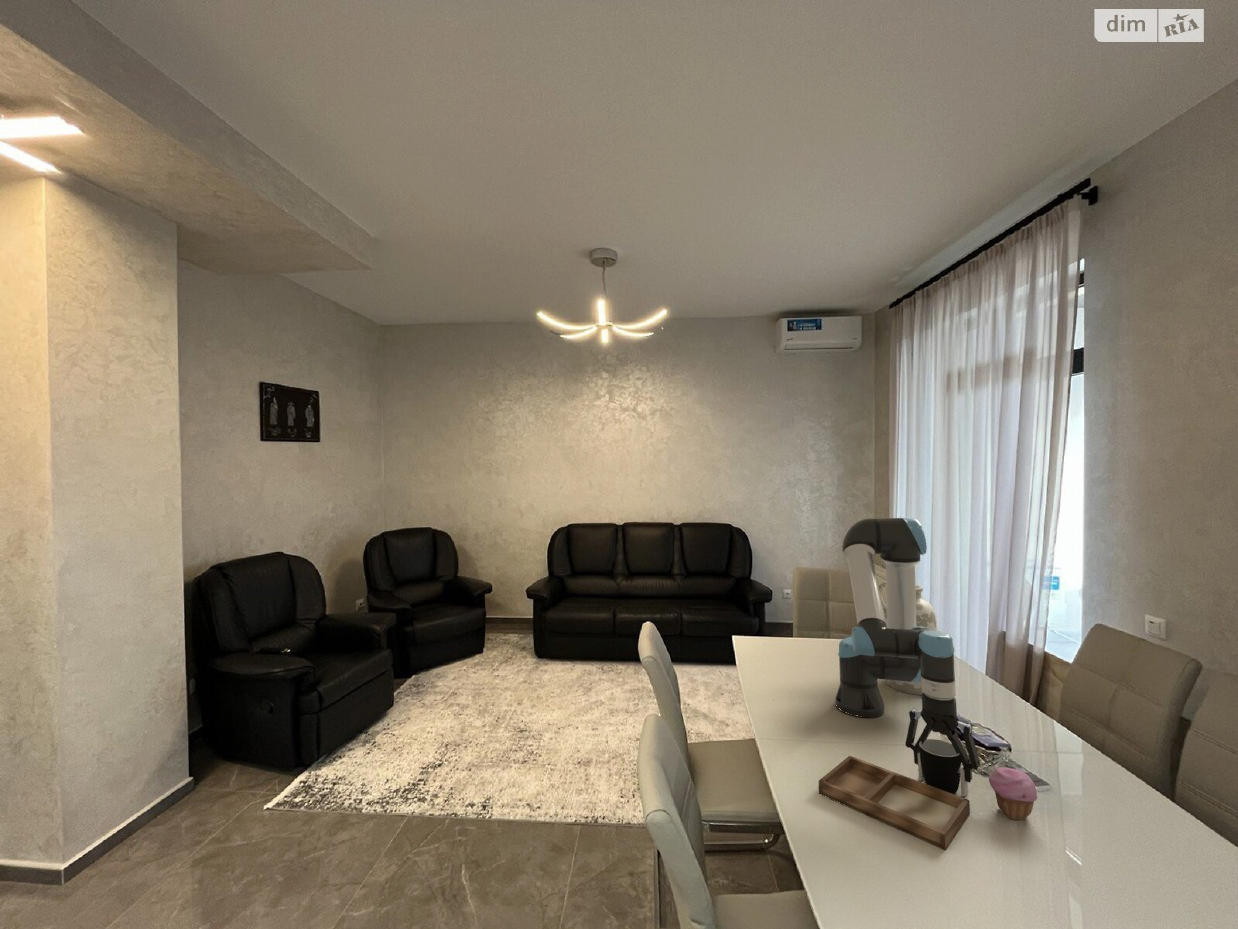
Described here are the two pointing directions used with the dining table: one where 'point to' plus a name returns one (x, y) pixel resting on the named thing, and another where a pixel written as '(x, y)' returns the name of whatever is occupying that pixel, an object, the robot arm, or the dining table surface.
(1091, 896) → the dining table surface
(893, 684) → the vase
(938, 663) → the robot arm
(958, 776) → the mug
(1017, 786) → the cupcake
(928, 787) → the organizer box
